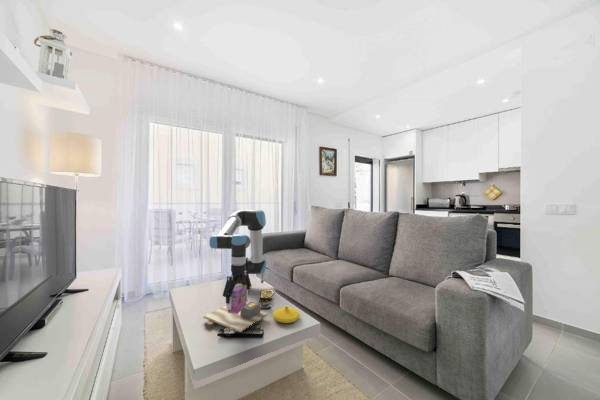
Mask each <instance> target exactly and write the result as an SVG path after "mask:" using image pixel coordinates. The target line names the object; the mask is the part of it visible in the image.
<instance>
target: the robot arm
mask: <svg viewBox="0 0 600 400" xmlns="http://www.w3.org/2000/svg"><path fill="white" fill-rule="evenodd" d="M266 220H267V219H266V214H265V211H263V210H262V209H239V210H237V211H235V212H233V213H232V214H231V215H229V216H228V218H227V222H226V223H225V225H224V226H223V227H222V229H221V230H220V231H219V233H218V234H214V235H211V236H210V238H209V247H210V249H214V250H215V249H216V250H223V249H224V250H231V258H230V259H231V261H230V263H231V265H230V271H231V275H230V276H229V275H227V276H226V282H225V285H224V289H223V292H222V297H225V306H226V309H228V310H231V301H232V297H231V294H232V291H233V289H234V287H235V285H236V284H244V285H246V287H247V288H246V303H248V299H249V290H250V289H251V287H252V282H251V279H250V276H249V275H263V274H265V273H266V268H267V261H268V260H267V258H265V256H264V255H263V234H262V233H263V232H262V231H263V229H264V227H265V226H266V224H267V223H266ZM241 226H243V227H247V229H248V231H249V235H247V234H243V233H242V234H241V233H240V234H239V233H237V234H234V233H235V232H236V230H237V229H238V228H239V227H241ZM249 247H250V254H251V255H250V257H248V256H247V249H248V248H249ZM228 294H229V295H228Z"/></svg>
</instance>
